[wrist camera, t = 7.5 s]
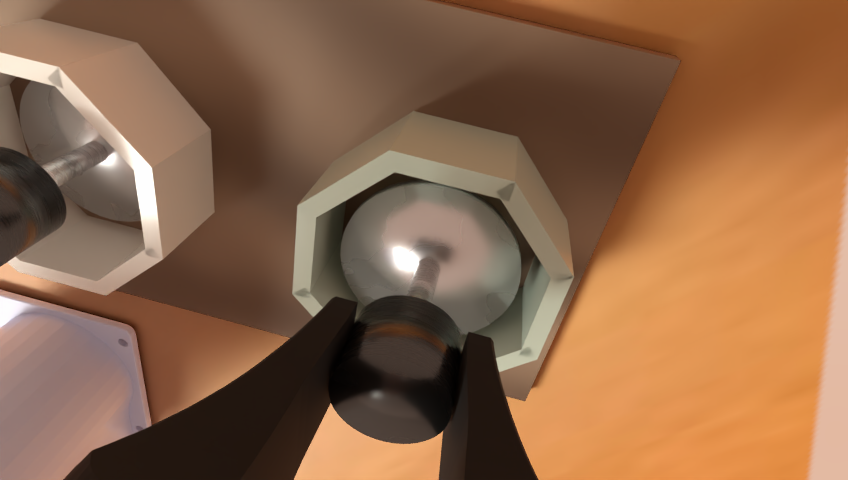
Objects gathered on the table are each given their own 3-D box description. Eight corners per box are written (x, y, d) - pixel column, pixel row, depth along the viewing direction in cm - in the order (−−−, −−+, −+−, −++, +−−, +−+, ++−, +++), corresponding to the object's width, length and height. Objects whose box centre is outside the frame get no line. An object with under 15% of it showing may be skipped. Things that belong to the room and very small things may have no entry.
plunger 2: (494, 347, 19) (480, 504, 14) (336, 305, 19) (266, 443, 14) (546, 207, 15) (554, 346, 10) (354, 158, 16) (271, 271, 11)
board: (525, 390, 23) (525, 401, 23) (32, 257, 24) (21, 264, 24) (675, 56, 15) (680, 60, 14) (-81, -123, 16) (-100, -125, 16)
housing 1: (216, 261, 21) (169, 312, 19) (30, 211, 22) (-44, 255, 19) (207, 59, 17) (142, 87, 14) (-28, 1, 17) (-139, 17, 14)
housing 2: (517, 341, 21) (515, 407, 18) (321, 289, 21) (289, 345, 18) (593, 155, 16) (606, 204, 13) (340, 92, 17) (301, 127, 14)
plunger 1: (185, 232, 21) (76, 331, 16) (47, 196, 21) (-103, 282, 16) (173, 88, 17) (30, 155, 12) (10, 47, 18) (-195, 96, 13)
